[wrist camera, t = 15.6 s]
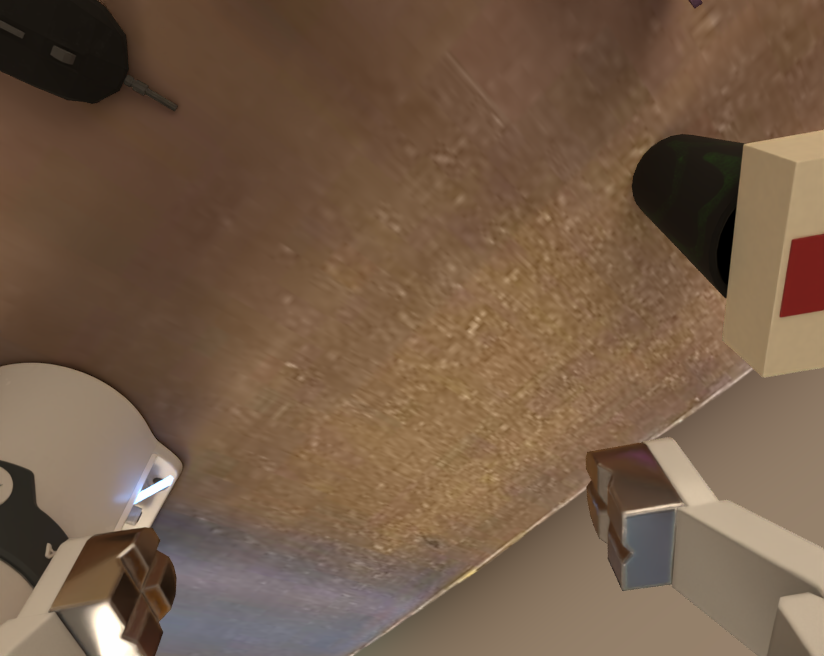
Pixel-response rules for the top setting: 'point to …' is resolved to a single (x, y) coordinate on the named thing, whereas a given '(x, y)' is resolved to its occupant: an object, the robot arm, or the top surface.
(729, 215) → the cup
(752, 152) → the packet
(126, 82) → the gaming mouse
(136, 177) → the top surface
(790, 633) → the robot arm
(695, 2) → the purple toy figure frame
